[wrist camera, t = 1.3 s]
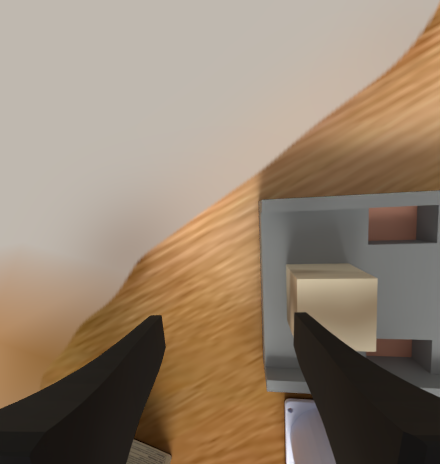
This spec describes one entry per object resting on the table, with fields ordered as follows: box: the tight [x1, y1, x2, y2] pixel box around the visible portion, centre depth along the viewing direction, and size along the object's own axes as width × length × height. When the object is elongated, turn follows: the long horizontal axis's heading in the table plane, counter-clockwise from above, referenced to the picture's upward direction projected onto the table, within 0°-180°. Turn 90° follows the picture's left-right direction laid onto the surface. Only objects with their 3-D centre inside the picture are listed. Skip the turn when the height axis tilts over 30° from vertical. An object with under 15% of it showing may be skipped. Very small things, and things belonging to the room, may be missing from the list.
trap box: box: [259, 190, 440, 397], centre depth 17 cm, size 16×27×4 cm, turn 93°
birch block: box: [286, 263, 378, 352], centre depth 16 cm, size 5×5×4 cm
